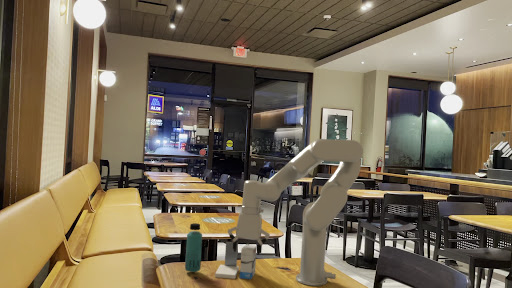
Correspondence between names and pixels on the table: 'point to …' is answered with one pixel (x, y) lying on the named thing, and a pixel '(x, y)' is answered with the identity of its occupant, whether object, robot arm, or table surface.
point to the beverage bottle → (193, 249)
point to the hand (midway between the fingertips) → (246, 252)
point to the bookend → (230, 255)
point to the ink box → (248, 261)
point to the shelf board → (227, 271)
